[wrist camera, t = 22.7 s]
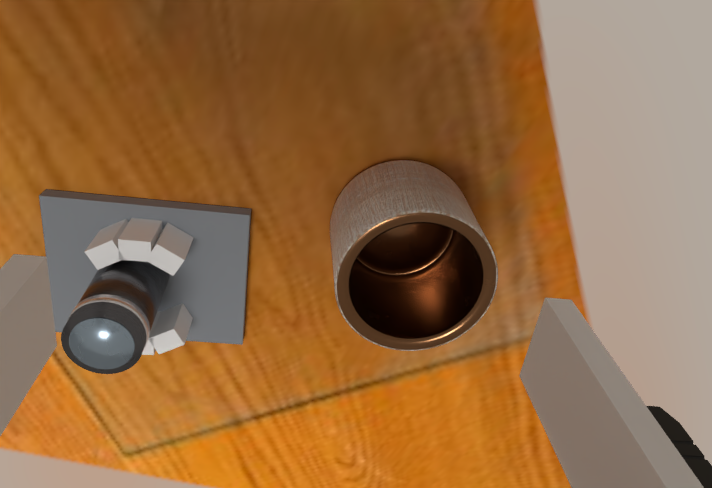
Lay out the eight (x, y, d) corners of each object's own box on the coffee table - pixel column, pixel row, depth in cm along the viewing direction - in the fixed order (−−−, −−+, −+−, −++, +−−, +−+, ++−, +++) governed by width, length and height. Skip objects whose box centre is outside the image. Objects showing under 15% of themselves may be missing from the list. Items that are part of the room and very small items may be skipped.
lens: (97, 242, 44) (53, 310, 36) (167, 244, 45) (139, 311, 37) (105, 299, 47) (65, 375, 39) (172, 300, 47) (146, 376, 39)
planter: (494, 217, 47) (533, 279, 39) (396, 303, 50) (413, 378, 42) (399, 127, 43) (420, 174, 35) (300, 226, 46) (298, 291, 38)
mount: (45, 189, 44) (15, 218, 39) (251, 208, 45) (244, 238, 41) (60, 323, 49) (35, 361, 45) (243, 335, 51) (237, 374, 46)
